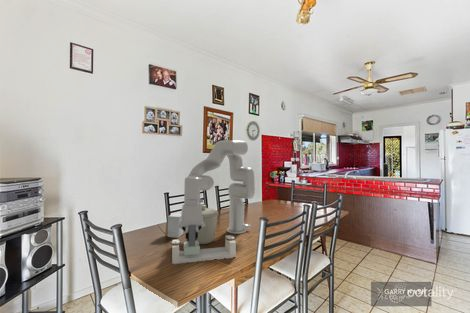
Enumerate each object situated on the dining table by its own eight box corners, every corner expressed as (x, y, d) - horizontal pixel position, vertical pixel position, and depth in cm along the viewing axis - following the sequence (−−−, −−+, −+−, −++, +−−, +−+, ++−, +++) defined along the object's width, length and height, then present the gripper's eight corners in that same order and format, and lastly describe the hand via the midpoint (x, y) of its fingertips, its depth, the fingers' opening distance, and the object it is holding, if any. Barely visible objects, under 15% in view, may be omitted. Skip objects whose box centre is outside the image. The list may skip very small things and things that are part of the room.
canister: (224, 241, 134) (225, 205, 134) (199, 250, 121) (199, 210, 121) (205, 233, 147) (205, 200, 147) (180, 240, 134) (181, 204, 134)
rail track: (232, 249, 123) (232, 233, 123) (237, 257, 113) (237, 240, 113) (170, 255, 115) (170, 238, 115) (170, 264, 105) (170, 246, 105)
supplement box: (178, 238, 138) (178, 217, 138) (167, 237, 140) (167, 216, 140) (183, 234, 145) (183, 213, 145) (172, 233, 147) (173, 213, 147)
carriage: (197, 246, 118) (198, 220, 118) (199, 253, 109) (200, 226, 109) (183, 247, 116) (184, 221, 116) (184, 255, 107) (185, 227, 107)
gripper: (207, 200, 118) (207, 236, 118) (174, 201, 114) (174, 238, 114) (210, 203, 111) (209, 241, 111) (174, 204, 107) (174, 244, 107)
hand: (191, 239), depth 112 cm, fingers closed on carriage, 3 cm apart
